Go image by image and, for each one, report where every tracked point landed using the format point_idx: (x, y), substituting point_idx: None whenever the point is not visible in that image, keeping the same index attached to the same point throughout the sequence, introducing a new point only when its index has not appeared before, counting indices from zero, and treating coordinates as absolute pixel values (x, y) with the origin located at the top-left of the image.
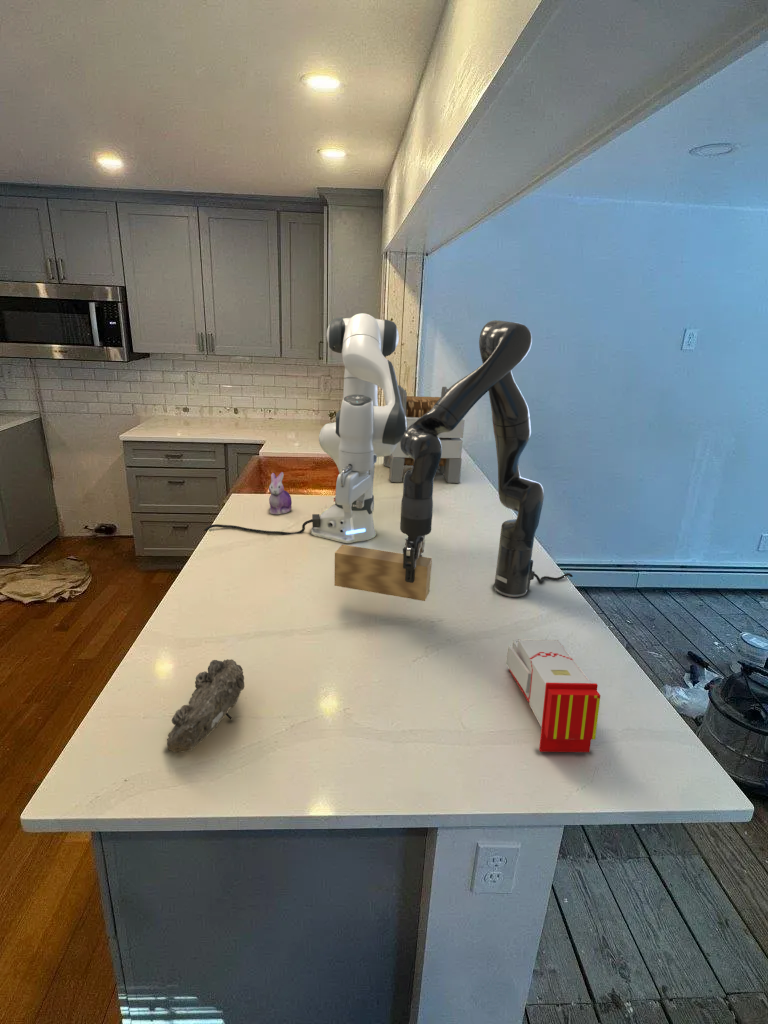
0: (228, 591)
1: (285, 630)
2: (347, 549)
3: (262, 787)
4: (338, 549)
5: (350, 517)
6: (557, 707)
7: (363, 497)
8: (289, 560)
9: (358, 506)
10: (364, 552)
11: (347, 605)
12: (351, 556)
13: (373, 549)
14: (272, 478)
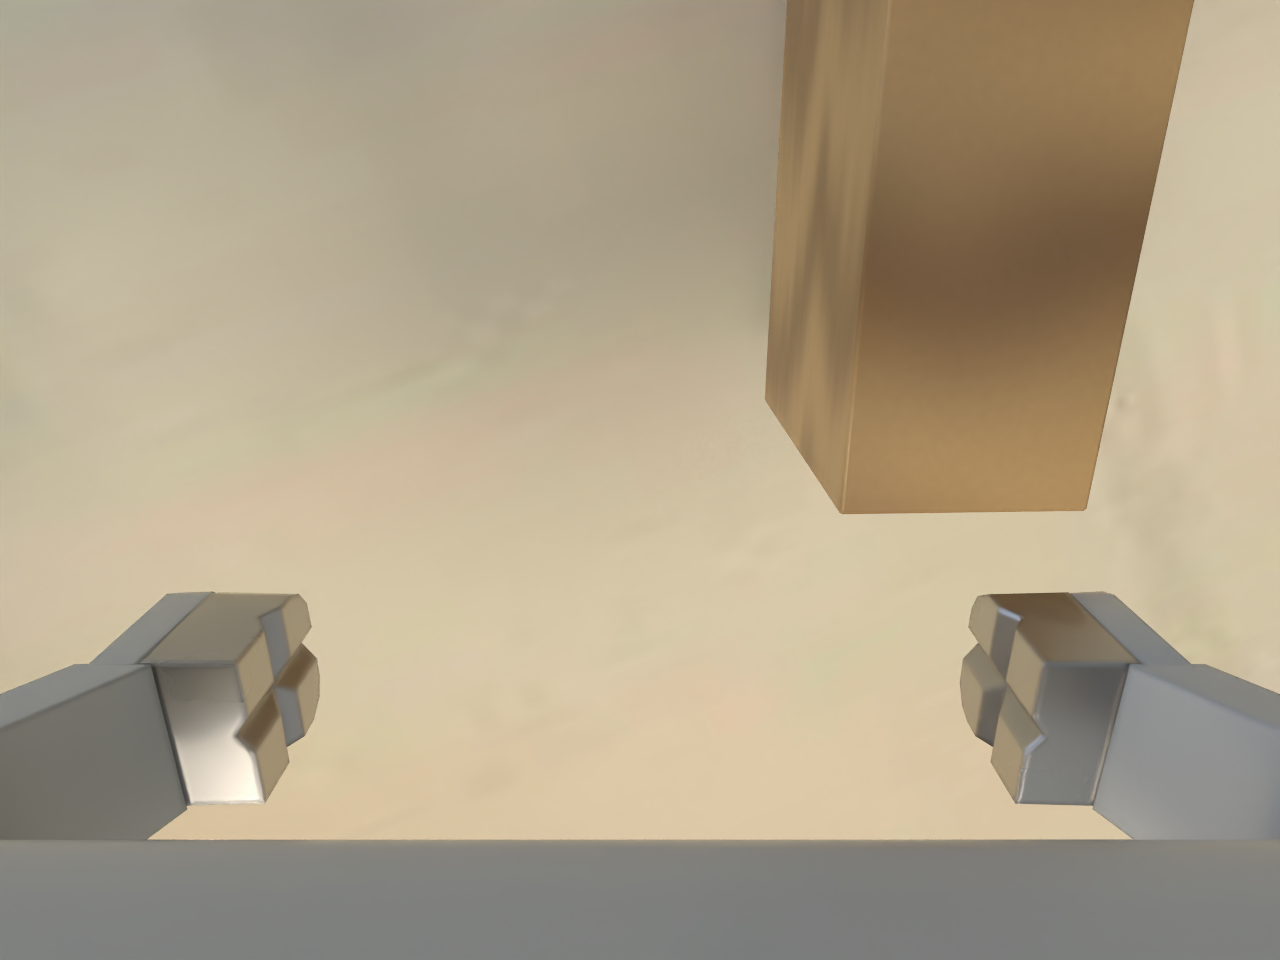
0: None
1: (1129, 521)
2: (971, 409)
3: None
4: (993, 503)
5: (1113, 603)
6: None
7: (35, 742)
8: (341, 822)
9: (300, 678)
10: (1016, 172)
11: (769, 296)
12: (1123, 303)
13: (892, 77)
14: None
